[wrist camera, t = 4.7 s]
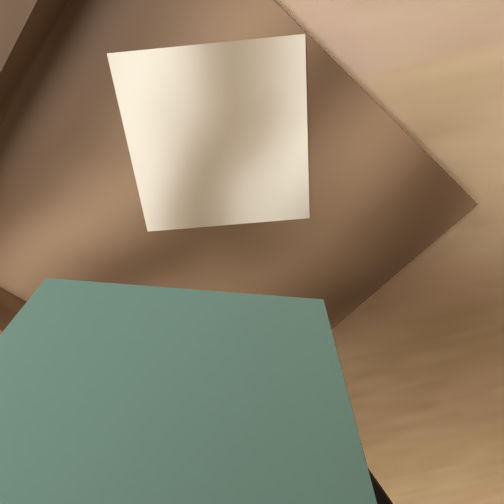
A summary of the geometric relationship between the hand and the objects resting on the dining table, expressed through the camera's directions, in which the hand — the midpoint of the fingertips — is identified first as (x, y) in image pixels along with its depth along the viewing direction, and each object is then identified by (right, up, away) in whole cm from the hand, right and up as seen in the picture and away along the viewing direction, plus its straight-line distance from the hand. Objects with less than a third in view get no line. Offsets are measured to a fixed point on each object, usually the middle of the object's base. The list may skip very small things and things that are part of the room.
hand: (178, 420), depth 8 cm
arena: (-2, +5, +11) cm, 12 cm away
